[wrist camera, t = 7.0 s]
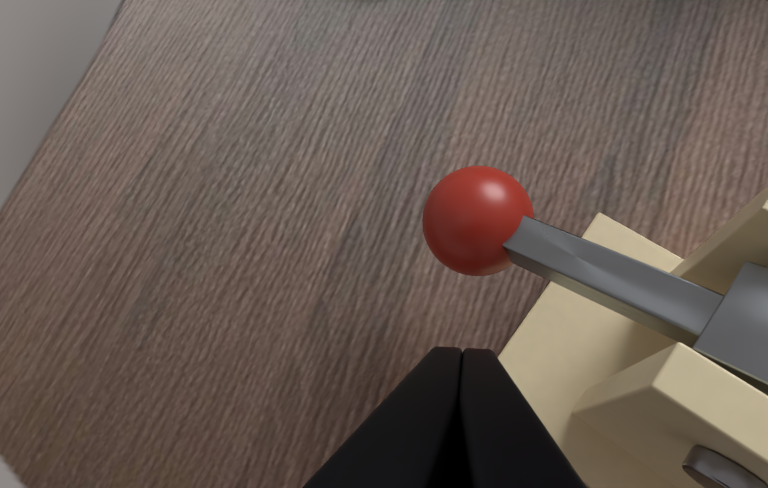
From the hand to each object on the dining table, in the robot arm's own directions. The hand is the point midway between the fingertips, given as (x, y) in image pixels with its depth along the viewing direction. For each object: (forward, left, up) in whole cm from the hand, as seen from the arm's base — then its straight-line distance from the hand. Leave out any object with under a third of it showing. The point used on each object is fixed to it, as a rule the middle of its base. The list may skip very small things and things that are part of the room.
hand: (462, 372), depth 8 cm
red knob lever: (+4, -3, -7) cm, 8 cm away
